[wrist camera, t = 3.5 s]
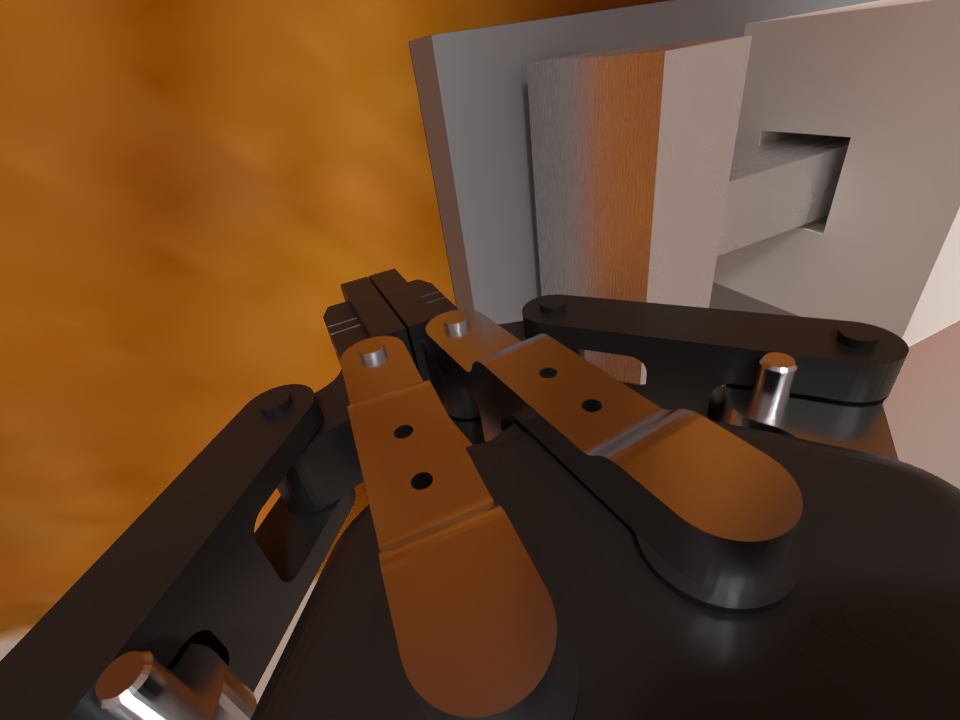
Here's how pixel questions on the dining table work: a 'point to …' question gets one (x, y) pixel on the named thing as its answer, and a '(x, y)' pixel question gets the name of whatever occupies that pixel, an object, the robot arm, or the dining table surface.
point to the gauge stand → (763, 119)
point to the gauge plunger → (659, 175)
